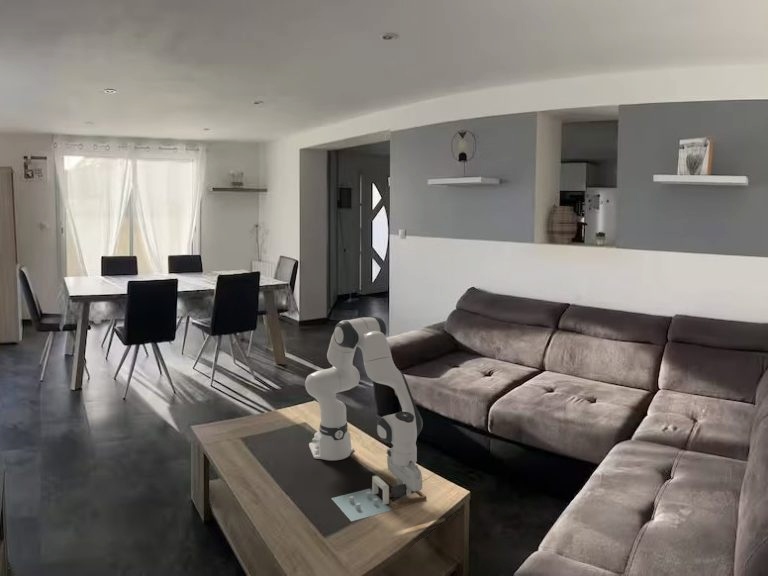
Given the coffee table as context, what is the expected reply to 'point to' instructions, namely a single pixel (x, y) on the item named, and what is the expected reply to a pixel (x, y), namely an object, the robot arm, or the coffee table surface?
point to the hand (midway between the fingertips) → (404, 491)
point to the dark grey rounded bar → (399, 490)
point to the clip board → (360, 504)
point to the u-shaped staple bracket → (379, 482)
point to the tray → (421, 498)
